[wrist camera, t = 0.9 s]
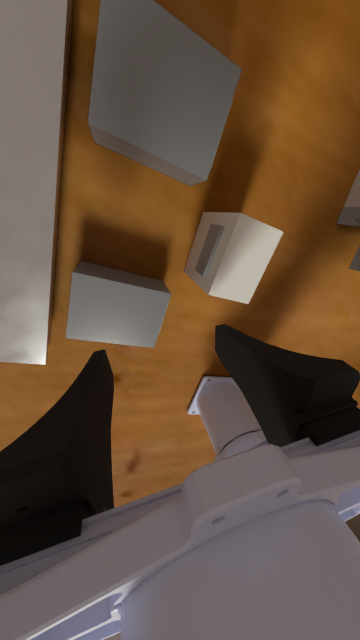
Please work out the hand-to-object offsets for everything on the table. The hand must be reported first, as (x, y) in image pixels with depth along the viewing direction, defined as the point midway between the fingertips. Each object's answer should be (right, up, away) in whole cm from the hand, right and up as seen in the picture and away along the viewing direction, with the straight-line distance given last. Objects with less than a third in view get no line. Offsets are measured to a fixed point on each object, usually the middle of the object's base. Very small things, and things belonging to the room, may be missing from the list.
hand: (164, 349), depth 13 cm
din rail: (-10, +12, +3) cm, 16 cm away
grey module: (+4, +9, +8) cm, 13 cm away
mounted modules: (-3, +11, +5) cm, 12 cm away
